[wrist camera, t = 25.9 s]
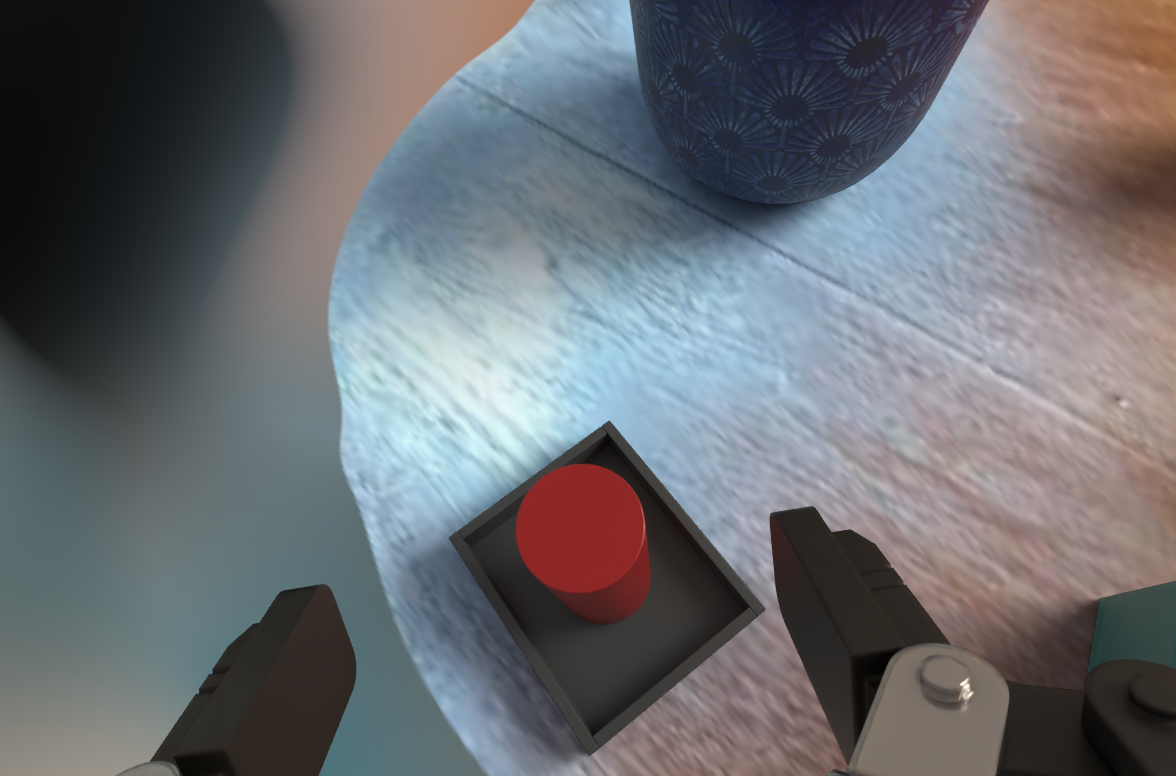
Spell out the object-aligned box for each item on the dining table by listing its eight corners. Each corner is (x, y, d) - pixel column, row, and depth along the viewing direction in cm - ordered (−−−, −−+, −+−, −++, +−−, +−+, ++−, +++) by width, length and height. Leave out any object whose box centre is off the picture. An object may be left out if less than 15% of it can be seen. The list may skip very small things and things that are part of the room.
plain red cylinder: (664, 548, 38) (664, 489, 27) (630, 640, 36) (616, 615, 25) (579, 515, 39) (547, 446, 29) (543, 601, 38) (493, 563, 27)
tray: (594, 752, 35) (589, 756, 32) (461, 546, 40) (448, 537, 38) (759, 614, 37) (766, 609, 34) (612, 435, 42) (609, 419, 40)
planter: (767, 306, 44) (831, 59, 27) (576, 133, 52) (532, -143, 35) (981, 140, 48) (1158, -170, 31) (773, 2, 56) (821, -306, 39)
